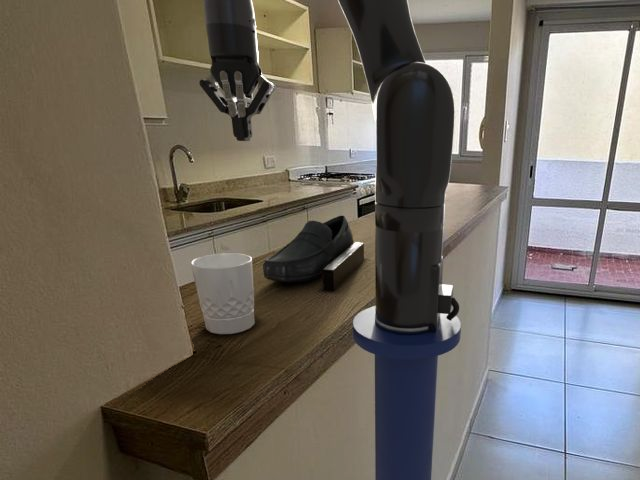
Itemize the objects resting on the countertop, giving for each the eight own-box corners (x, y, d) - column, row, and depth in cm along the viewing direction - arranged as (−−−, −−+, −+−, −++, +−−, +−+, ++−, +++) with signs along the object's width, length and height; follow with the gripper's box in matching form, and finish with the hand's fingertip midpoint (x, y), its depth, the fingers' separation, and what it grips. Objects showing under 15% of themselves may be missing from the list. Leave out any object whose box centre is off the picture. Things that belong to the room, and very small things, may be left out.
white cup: (263, 314, 70) (256, 252, 67) (253, 335, 63) (245, 267, 59) (210, 315, 69) (200, 252, 65) (194, 337, 62) (182, 268, 58)
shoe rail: (364, 259, 102) (363, 242, 100) (334, 291, 82) (333, 270, 80) (355, 259, 102) (355, 242, 100) (323, 290, 82) (322, 269, 80)
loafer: (251, 289, 81) (244, 233, 77) (318, 251, 107) (315, 208, 103) (304, 295, 79) (300, 238, 75) (359, 255, 105) (358, 211, 101)
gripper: (178, 20, 69) (196, 139, 76) (259, 20, 68) (270, 142, 74) (206, 30, 76) (220, 139, 83) (280, 31, 75) (288, 142, 81)
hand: (243, 140), depth 79 cm, fingers closed
